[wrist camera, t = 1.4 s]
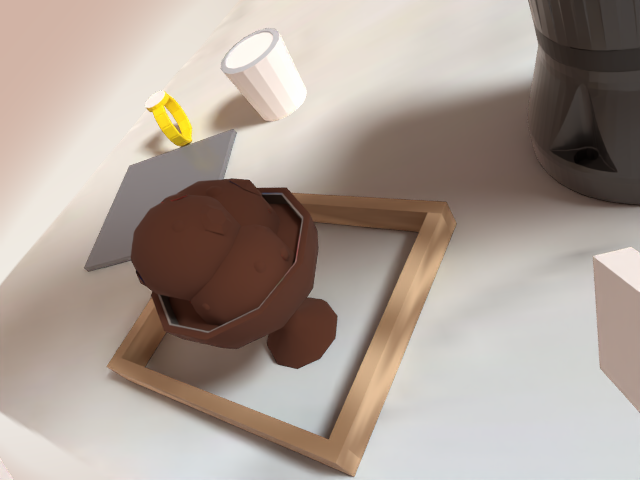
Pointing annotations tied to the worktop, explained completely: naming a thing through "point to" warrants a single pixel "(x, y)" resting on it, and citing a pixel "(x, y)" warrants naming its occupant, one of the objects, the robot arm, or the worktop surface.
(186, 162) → the plate
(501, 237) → the worktop surface
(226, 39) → the worktop surface
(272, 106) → the white cup
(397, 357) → the wooden picture frame
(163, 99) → the watch
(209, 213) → the ice cream bowl
